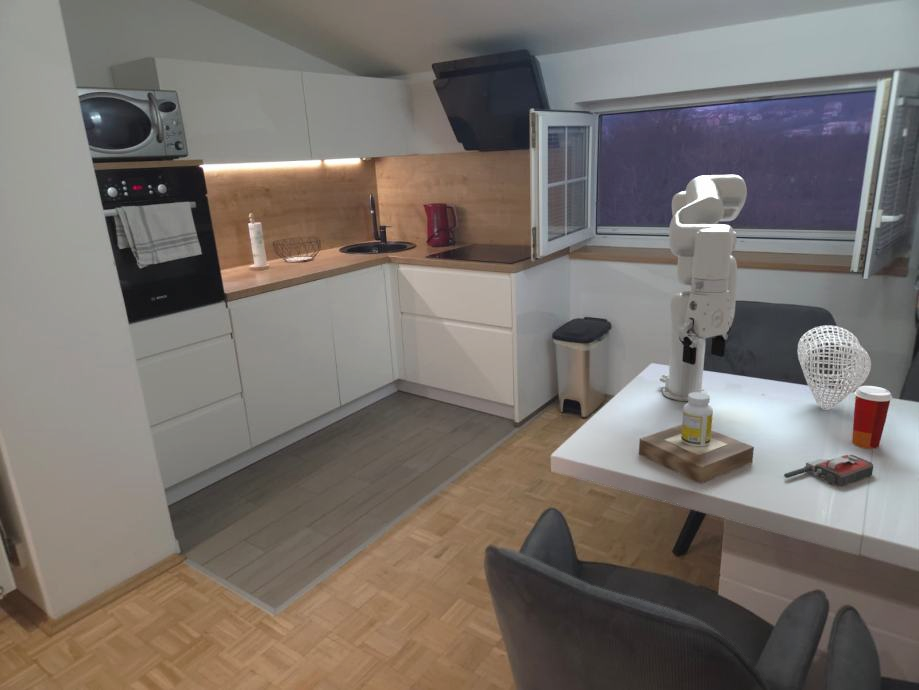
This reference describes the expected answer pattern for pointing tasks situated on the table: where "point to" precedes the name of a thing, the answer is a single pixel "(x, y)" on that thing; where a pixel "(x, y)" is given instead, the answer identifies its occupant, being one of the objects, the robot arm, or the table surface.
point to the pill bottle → (697, 420)
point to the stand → (696, 454)
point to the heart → (858, 363)
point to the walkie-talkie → (837, 469)
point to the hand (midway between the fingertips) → (703, 359)
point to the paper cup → (870, 415)
